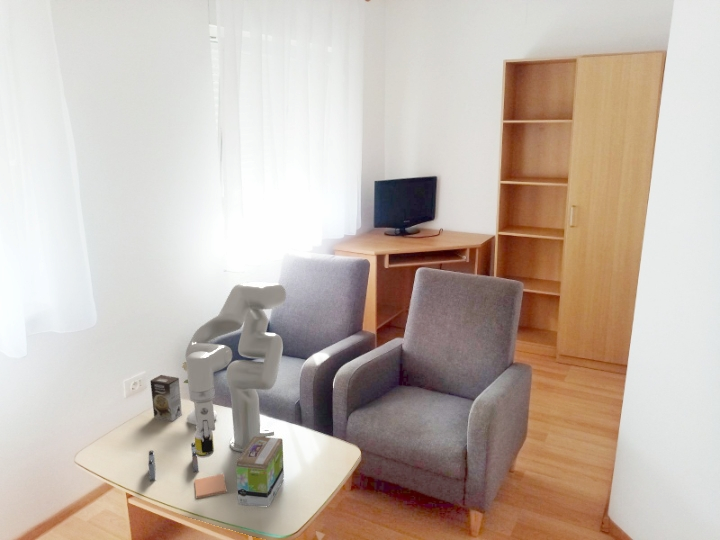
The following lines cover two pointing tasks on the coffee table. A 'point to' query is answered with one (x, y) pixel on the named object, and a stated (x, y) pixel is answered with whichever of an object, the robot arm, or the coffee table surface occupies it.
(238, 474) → the tea box
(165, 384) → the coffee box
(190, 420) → the flower in vase
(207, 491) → the coaster
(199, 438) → the supplement bottle
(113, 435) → the coffee table surface
